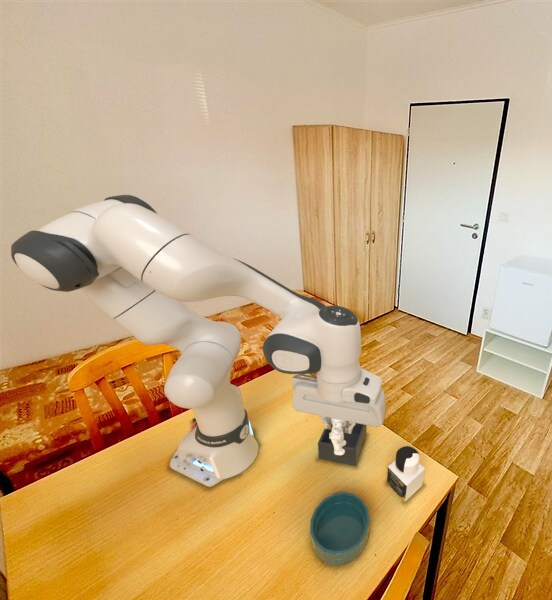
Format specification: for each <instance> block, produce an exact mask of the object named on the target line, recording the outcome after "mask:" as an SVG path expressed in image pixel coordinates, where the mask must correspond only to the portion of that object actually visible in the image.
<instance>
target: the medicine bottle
mask: <svg viewBox="0 0 552 600" xmlns="http://www.w3.org/2000/svg"><path fill="white" fill-rule="evenodd" d="M425 472H426V467H424V466H423V465H422V464H421V463H420V454H419V452H418V450H417V449H416V448H414V447H412V446H410V445H405V446H401V447H400V448H399V449H398V450H397V451H396V453H395V460H393V461H392V462H391V463H389V464H388V466H387V475H386V484H387V485H388V486H389V487H390V488H391V489H392V491H393V492H394V493H395V494H396V495H397V496H398V497H399V498H400V499H401V500H402V501H403V502H404V503H406V502H407V501H408V500H409V499H410V498H411V497H412V496H413V495H414V494H415V493H416V492H417V491H418V490H419V489H420V488H422V486H423V484H424V478H425Z"/></svg>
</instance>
